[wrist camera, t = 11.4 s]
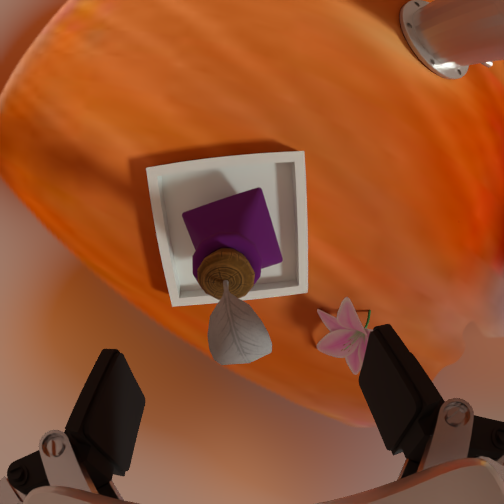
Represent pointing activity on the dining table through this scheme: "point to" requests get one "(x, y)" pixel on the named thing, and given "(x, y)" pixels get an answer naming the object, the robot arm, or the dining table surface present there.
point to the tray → (221, 186)
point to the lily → (345, 335)
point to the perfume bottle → (233, 270)
